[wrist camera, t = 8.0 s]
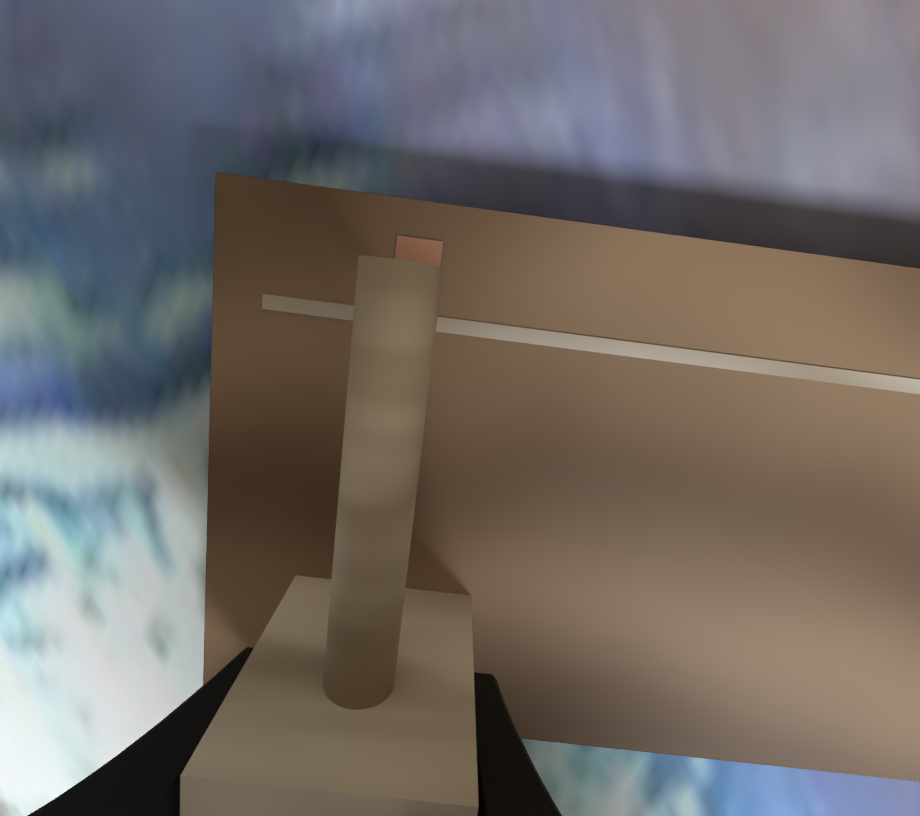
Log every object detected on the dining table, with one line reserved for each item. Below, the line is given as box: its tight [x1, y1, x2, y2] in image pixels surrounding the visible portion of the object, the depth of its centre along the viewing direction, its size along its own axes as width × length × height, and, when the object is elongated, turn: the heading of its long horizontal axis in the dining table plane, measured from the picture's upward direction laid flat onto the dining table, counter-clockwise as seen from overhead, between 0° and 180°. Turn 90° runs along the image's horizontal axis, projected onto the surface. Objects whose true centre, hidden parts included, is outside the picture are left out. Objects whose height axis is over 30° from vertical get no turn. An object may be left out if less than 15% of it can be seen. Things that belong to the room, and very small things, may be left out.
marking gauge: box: [180, 255, 479, 816], centre depth 10 cm, size 12×5×6 cm, turn 173°
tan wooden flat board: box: [203, 172, 920, 782], centre depth 12 cm, size 12×24×2 cm, turn 83°
